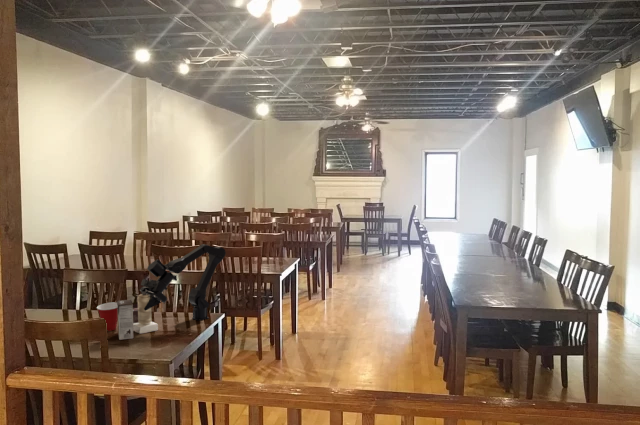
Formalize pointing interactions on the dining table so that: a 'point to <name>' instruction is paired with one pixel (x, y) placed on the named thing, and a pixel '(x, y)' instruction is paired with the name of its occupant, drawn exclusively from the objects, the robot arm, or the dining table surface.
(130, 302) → the coffee box
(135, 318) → the box
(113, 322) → the plastic cup
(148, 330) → the stand
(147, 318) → the pepper mill
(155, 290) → the robot arm
